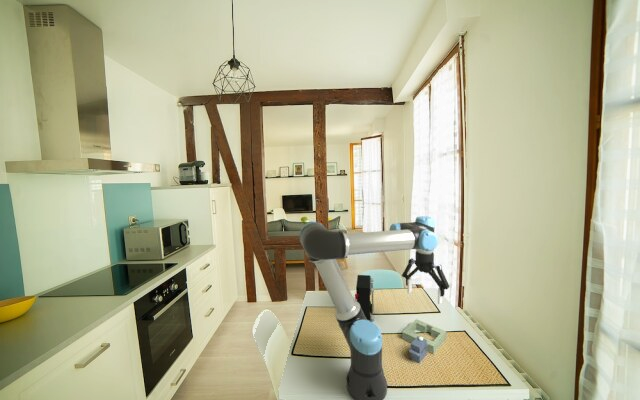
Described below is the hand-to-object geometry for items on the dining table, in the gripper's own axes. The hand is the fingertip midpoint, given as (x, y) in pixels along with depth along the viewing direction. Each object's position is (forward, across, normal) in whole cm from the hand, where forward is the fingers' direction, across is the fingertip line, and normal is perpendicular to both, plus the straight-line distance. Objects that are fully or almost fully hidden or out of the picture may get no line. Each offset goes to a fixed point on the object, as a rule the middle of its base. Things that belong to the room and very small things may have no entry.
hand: (424, 297), depth 110 cm
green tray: (+25, +3, -8) cm, 26 cm away
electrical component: (+25, +36, -6) cm, 44 cm away
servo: (+25, 0, +6) cm, 26 cm away
